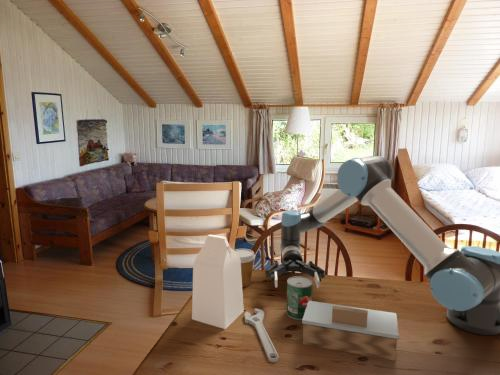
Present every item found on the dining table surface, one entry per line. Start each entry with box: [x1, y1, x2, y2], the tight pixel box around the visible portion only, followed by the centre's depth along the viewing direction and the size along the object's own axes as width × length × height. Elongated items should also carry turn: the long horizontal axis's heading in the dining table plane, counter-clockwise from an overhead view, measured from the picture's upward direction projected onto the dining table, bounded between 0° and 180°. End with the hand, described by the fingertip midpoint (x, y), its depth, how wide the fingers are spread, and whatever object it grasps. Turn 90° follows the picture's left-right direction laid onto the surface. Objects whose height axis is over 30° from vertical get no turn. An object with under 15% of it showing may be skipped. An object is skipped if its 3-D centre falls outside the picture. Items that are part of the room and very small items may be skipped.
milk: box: [191, 234, 245, 330], centre depth 119 cm, size 12×12×26 cm
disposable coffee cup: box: [233, 248, 256, 288], centre depth 143 cm, size 10×10×12 cm
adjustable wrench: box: [244, 308, 279, 363], centre depth 111 cm, size 25×6×2 cm, turn 9°
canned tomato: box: [286, 275, 313, 321], centre depth 121 cm, size 8×8×11 cm
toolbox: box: [302, 323, 398, 361], centre depth 108 cm, size 24×11×6 cm, turn 73°
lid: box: [301, 300, 400, 340], centre depth 106 cm, size 25×11×5 cm, turn 73°
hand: (297, 284), depth 125 cm, fingers open, 13 cm apart
